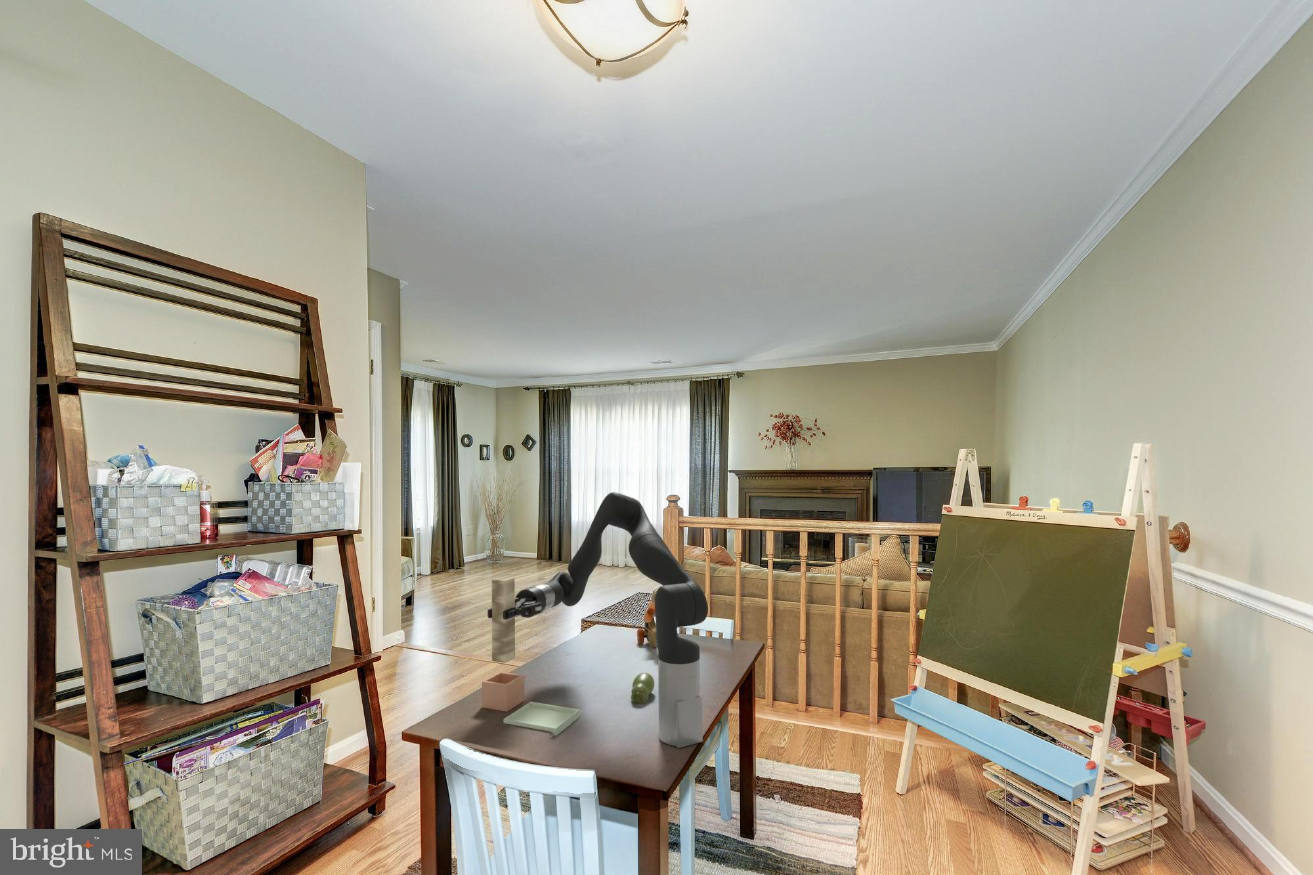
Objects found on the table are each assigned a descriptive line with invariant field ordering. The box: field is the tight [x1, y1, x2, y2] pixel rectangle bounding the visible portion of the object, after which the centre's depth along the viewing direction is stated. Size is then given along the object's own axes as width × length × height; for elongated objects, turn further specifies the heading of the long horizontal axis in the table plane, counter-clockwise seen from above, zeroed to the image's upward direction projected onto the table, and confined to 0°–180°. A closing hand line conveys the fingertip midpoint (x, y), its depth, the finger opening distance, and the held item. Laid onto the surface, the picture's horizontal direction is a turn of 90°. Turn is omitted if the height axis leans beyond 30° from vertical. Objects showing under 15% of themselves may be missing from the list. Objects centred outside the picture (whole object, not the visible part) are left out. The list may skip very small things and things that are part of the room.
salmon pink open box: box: [481, 671, 526, 712], centre depth 149 cm, size 7×7×7 cm
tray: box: [503, 701, 581, 737], centre depth 140 cm, size 14×11×2 cm
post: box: [491, 576, 516, 664], centre depth 150 cm, size 4×4×20 cm
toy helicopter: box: [636, 601, 657, 649], centre depth 195 cm, size 8×21×14 cm, turn 11°
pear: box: [630, 672, 655, 704], centre depth 154 cm, size 6×5×10 cm
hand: (496, 614), depth 147 cm, fingers closed on post, 4 cm apart
